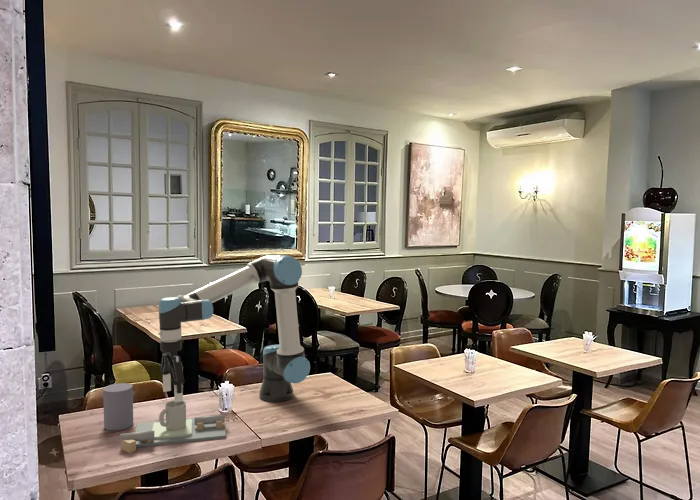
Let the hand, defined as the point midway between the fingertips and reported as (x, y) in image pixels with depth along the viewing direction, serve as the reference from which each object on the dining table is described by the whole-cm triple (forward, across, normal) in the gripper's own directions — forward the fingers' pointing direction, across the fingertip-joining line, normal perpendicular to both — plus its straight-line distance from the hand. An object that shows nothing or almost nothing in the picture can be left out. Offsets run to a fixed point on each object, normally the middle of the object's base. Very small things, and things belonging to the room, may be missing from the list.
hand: (172, 396), depth 198 cm
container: (+14, -18, -15) cm, 27 cm away
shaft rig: (+14, +2, 0) cm, 14 cm away
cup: (+12, 0, -1) cm, 12 cm away
